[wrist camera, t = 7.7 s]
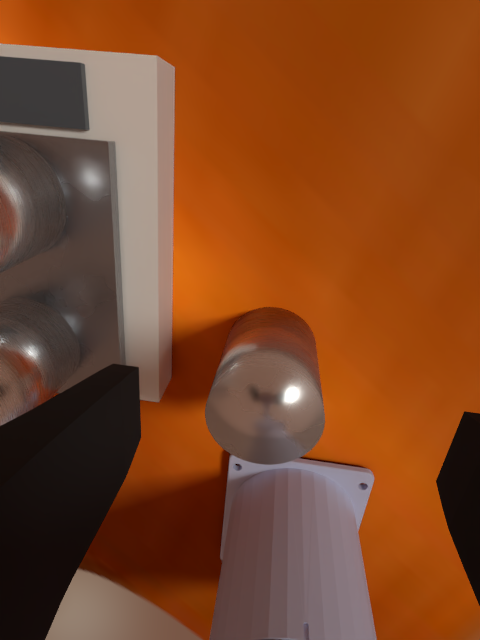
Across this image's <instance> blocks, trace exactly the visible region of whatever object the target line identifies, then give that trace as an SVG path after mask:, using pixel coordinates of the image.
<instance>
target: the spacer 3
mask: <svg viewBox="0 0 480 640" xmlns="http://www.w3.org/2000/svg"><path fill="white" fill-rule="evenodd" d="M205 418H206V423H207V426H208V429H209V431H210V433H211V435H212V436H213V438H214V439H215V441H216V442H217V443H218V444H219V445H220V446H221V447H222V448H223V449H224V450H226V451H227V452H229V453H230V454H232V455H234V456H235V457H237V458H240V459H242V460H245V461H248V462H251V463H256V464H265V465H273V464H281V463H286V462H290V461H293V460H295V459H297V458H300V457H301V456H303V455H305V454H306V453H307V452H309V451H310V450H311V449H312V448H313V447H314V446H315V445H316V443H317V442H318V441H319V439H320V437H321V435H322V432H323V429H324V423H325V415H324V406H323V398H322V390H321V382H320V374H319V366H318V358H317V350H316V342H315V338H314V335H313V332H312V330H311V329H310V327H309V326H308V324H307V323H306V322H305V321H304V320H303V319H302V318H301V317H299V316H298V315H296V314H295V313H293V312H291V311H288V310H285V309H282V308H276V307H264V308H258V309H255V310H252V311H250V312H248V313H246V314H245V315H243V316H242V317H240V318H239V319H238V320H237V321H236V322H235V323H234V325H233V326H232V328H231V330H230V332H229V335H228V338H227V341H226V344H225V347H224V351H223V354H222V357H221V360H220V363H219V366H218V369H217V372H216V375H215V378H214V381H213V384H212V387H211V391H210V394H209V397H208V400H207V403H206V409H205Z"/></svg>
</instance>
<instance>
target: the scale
mask: <svg viewBox="0 0 480 640" xmlns="http://www.w3.org/2000/svg"><path fill="white" fill-rule="evenodd" d="M174 104H175V67H173V66H172V65H170V64H169V63H167V62H166V61H164V60H163V59H161V58H160V57H158V56H153V55H140V54H127V53H114V52H101V51H89V50H76V49H63V48H50V47H37V46H24V45H11V44H0V131H8V132H19V133H29V134H40V135H50V136H61V137H72V138H82V139H93V140H103V141H114V142H115V147H116V168H117V189H118V210H119V231H120V252H121V273H122V294H123V315H124V336H125V357H126V365H127V366H135V367H139V389H140V400H146V401H153V402H159V401H160V399H161V398H162V396H163V394H164V392H165V390H166V388H167V386H168V384H169V382H170V380H171V378H172V295H173V200H174Z"/></svg>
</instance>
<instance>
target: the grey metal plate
mask: <svg viewBox="0 0 480 640" xmlns="http://www.w3.org/2000/svg"><path fill="white" fill-rule="evenodd" d="M0 134H3V135H7V136H11V137H13V138H16V139H18V140H20V141H22V142H24V143H26V144H27V145H29V146H30V147H32V148H33V149H34V150H35V151H37V152H38V153H39V154H40V155H41V156H42V157H43V158H44V159H45V160H46V161H47V163H48V164H49V165H50V167H51V168H52V169H53V171H54V173H55V174H56V176H57V178H58V180H59V182H60V184H61V187H62V189H63V192H64V196H65V201H66V222H65V226H64V229H63V232H62V234H61V236H60V238H59V239H58V241H57V242H56V243H55V244H54V245H53V246H52V247H51V248H49V249H48V250H46V251H44V252H42V253H40V254H38V255H36V256H34V257H32V258H30V259H28V260H26V261H24V262H22V263H20V264H18V265H16V266H14V267H12V268H10V269H8V270H6V271H4V272H2V273H0V302H1V301H3V300H5V299H9V298H16V297H21V298H29V299H33V300H36V301H39V302H41V303H44V304H46V305H47V306H49V307H51V308H52V309H54V310H55V311H57V312H58V313H59V314H60V315H61V316H62V317H63V318H64V319H65V320H66V321H67V322H68V323H69V325H70V326H71V328H72V329H73V331H74V333H75V335H76V337H77V339H78V343H79V347H80V362H79V365H78V368H77V370H76V371H75V373H74V374H73V375H72V376H71V378H70V379H69V380H68V381H67V382H66V383H65V384H64V385H63V386H62V387H61V388H60V389H59V390H58V391H57V392H56V393H62V392H63V391H65V390H67V389H69V388H70V387H72V386H74V385H76V384H77V383H79V382H81V381H82V380H84V379H86V378H88V377H89V376H91V375H93V374H94V373H96V372H98V371H100V370H102V369H103V368H105V367H107V366H109V365H111V364H120V365H126V357H125V336H124V315H123V294H122V273H121V252H120V231H119V210H118V189H117V168H116V147H115V142H114V141H103V140H93V139H82V138H72V137H61V136H50V135H40V134H29V133H19V132H8V131H0Z"/></svg>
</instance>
